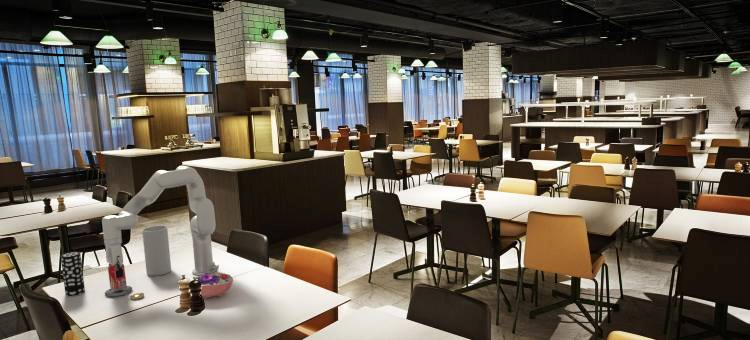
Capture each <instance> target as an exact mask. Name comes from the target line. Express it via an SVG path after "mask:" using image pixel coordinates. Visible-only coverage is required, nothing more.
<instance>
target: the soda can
mask: <svg viewBox="0 0 750 340" xmlns="http://www.w3.org/2000/svg"><path fill="white" fill-rule="evenodd" d="M118 263H119V262H118ZM118 263H116V264H118ZM118 266H119V265H117V267H118ZM107 271H108V272H107V273H108V280H109V285H110V286H109V287H110V288H109V289H112V290H114V291H117V290H122V289H124V288H125V287H126V286H128V285H127V277H126V270H125V265H124V263H123V274H124V276H123V277H120V278H116V267H115V265H111V264H109V263H108V266H107Z"/></svg>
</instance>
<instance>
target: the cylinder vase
mask: <svg viewBox="0 0 750 340" xmlns="http://www.w3.org/2000/svg"><path fill="white" fill-rule="evenodd" d="M141 231H142V240H143V251H144V260H145V261H144V262H145V263H144V264H145V269H146V270H145V271H146V274H147V276H150V277H156V276H157V277H158V276H162V275H167V274H168V273H170V272H171V271H172V263H171V254H170V242H169V231H168V226H167V225H153V226H147V227H144V228H142V230H141Z"/></svg>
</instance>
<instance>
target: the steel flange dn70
mask: <svg viewBox="0 0 750 340" xmlns="http://www.w3.org/2000/svg"><path fill="white" fill-rule="evenodd" d="M132 292H133V286H130V285H126V287H125V288H124V289H122V290H117V291H114V290H112V289H111V288H109V289H107V290H105V292H104V296H105V297H106V298H119V297H123V296H126V295H129V294H130V293H132Z"/></svg>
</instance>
